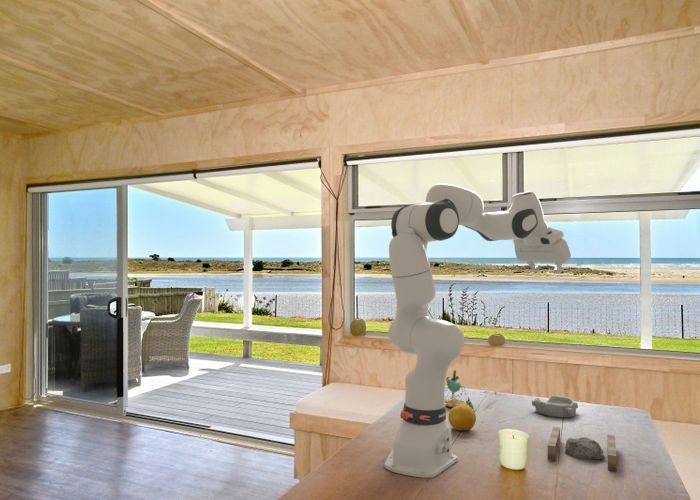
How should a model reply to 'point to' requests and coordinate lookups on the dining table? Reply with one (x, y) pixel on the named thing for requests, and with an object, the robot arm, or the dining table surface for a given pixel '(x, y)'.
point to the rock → (583, 448)
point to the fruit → (462, 417)
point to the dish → (556, 406)
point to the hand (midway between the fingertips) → (547, 272)
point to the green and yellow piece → (454, 387)
